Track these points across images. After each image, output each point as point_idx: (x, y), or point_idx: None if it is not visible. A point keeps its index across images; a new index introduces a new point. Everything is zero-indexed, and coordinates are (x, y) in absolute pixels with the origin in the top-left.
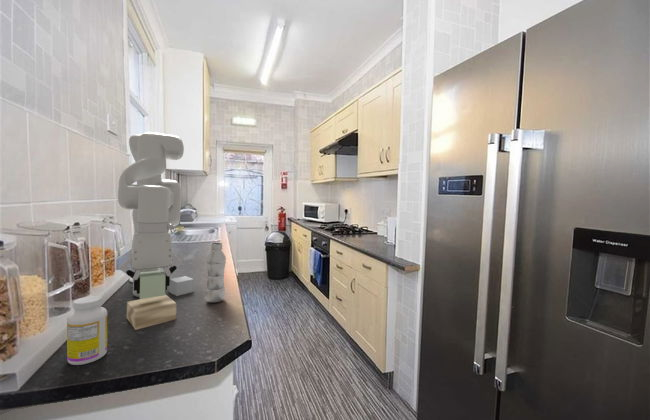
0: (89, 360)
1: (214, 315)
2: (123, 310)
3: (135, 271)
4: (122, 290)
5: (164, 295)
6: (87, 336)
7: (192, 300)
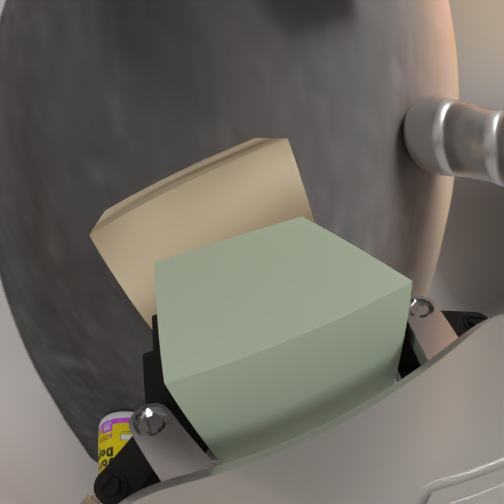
0: None
1: (396, 261)
2: (66, 109)
3: (168, 472)
4: None
5: (286, 164)
6: None
7: (356, 76)
